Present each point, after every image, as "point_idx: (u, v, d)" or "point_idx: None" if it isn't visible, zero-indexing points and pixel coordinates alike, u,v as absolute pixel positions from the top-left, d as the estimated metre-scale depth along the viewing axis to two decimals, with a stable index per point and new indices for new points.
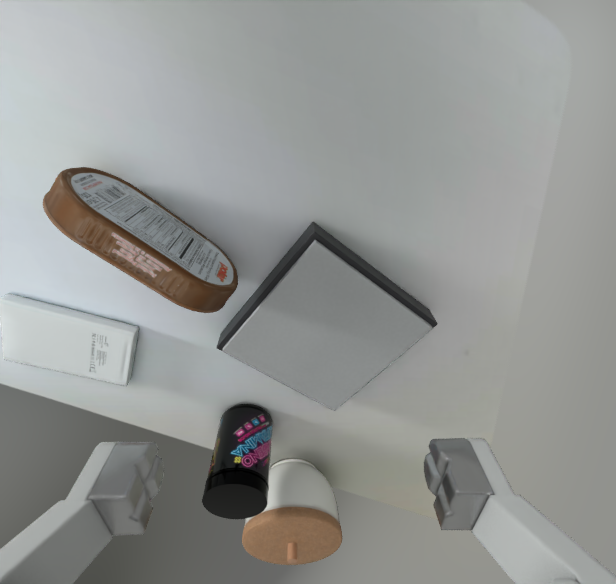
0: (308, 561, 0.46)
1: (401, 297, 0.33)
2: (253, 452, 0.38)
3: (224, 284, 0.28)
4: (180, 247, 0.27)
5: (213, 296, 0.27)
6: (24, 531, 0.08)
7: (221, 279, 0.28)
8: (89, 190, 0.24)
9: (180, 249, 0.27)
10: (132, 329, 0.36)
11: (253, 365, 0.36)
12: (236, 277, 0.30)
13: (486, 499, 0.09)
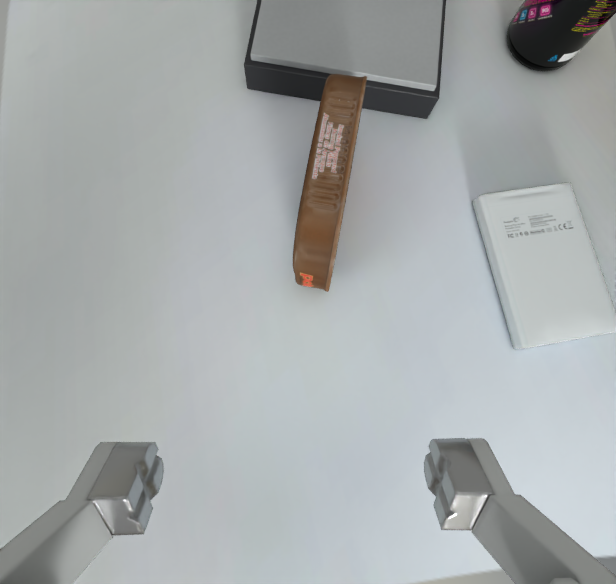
0: None
1: None
2: None
3: None
4: None
5: (340, 74, 0.22)
6: (24, 531, 0.08)
7: None
8: None
9: None
10: (477, 202, 0.28)
11: (435, 48, 0.28)
12: None
13: (486, 499, 0.09)
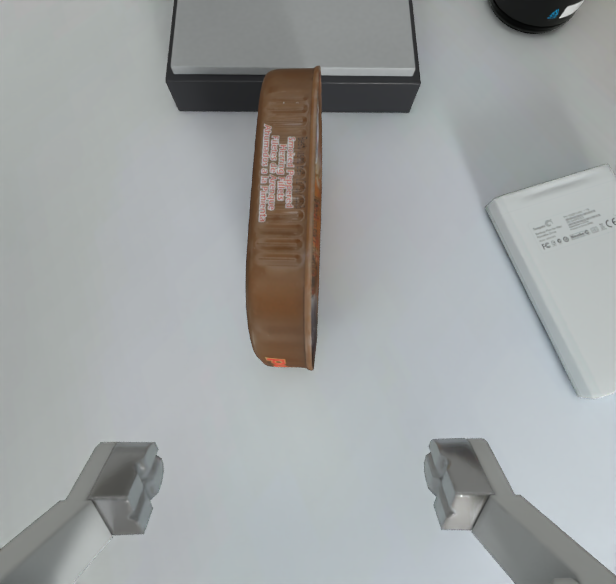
0: None
1: None
2: None
3: None
4: None
5: (282, 69, 0.16)
6: (24, 531, 0.08)
7: None
8: None
9: None
10: (492, 207, 0.21)
11: (406, 22, 0.22)
12: None
13: (486, 499, 0.09)
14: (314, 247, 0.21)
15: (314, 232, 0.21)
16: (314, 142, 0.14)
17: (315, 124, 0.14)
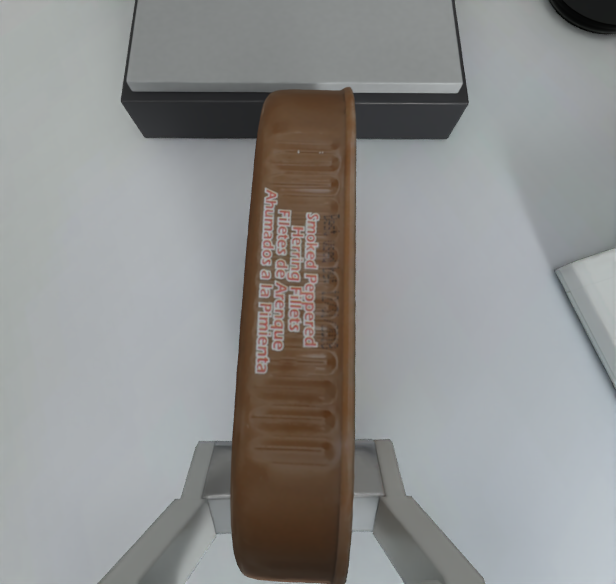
0: None
1: None
2: None
3: None
4: None
5: (292, 91, 0.10)
6: (149, 529, 0.08)
7: None
8: None
9: None
10: (568, 273, 0.16)
11: (448, 20, 0.16)
12: None
13: (378, 500, 0.09)
14: None
15: None
16: (352, 226, 0.08)
17: (353, 193, 0.08)
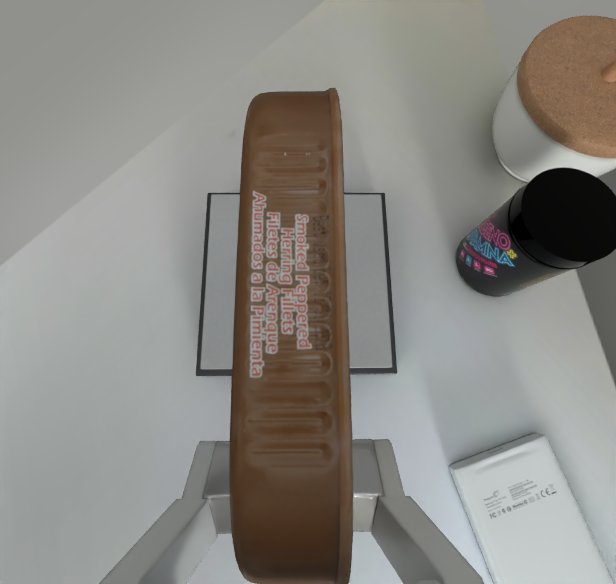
0: None
1: (204, 247, 0.30)
2: (493, 240, 0.26)
3: None
4: None
5: (276, 93, 0.10)
6: (151, 529, 0.08)
7: None
8: None
9: None
10: (453, 473, 0.27)
11: (385, 321, 0.28)
12: None
13: (377, 500, 0.09)
14: None
15: None
16: (342, 226, 0.08)
17: (341, 193, 0.08)
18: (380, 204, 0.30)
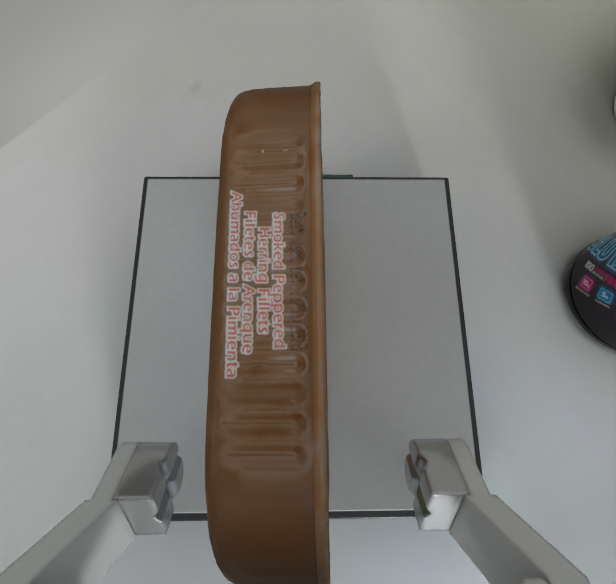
0: None
1: (134, 272, 0.17)
2: None
3: None
4: None
5: (259, 90, 0.10)
6: (52, 531, 0.08)
7: None
8: None
9: None
10: None
11: (463, 416, 0.15)
12: None
13: (462, 499, 0.09)
14: None
15: None
16: (319, 223, 0.08)
17: (319, 189, 0.08)
18: (444, 196, 0.17)
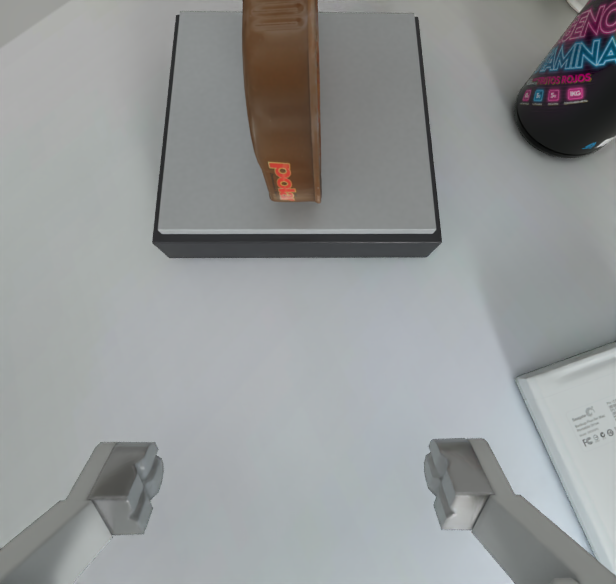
0: None
1: (170, 80, 0.21)
2: (589, 32, 0.17)
3: None
4: None
5: None
6: (24, 531, 0.08)
7: None
8: None
9: None
10: (524, 385, 0.19)
11: (425, 170, 0.19)
12: None
13: (486, 499, 0.09)
14: None
15: None
16: None
17: None
18: (413, 24, 0.22)
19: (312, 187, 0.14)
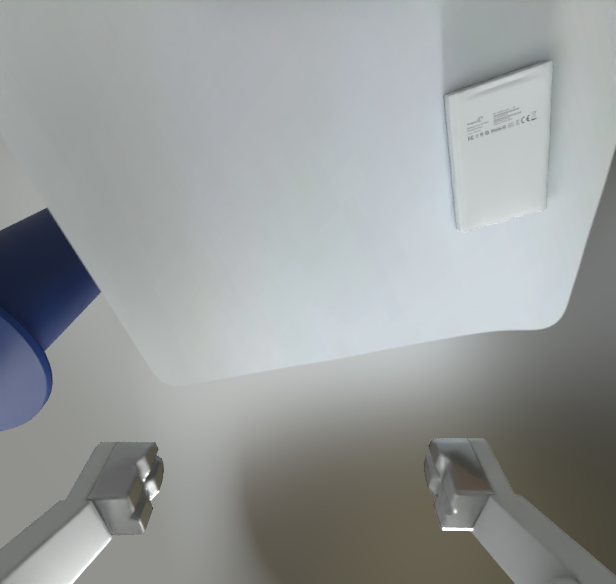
0: None
1: None
2: None
3: None
4: None
5: None
6: (24, 531, 0.08)
7: None
8: None
9: None
10: (446, 100, 0.29)
11: None
12: None
13: (486, 499, 0.09)
14: None
15: None
16: None
17: None
18: None
19: None
